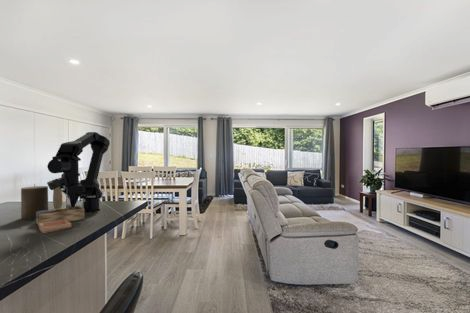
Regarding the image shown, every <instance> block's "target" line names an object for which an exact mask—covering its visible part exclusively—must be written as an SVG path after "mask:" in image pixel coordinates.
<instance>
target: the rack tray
mask: <svg viewBox="0 0 470 313" xmlns="http://www.w3.org/2000/svg"><path fill="white" fill-rule="evenodd" d="M68 229H72V223H71V221H68V220H66V219H63V220H57V221H51V222H45V223H39V225H38V230H39V231H40V232H41V233H42V234H46V233H52V232H58V231H62V230H63V231H64V230H68Z"/></svg>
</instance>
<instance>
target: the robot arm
mask: <svg viewBox="0 0 470 313" xmlns="http://www.w3.org/2000/svg"><path fill="white" fill-rule="evenodd" d="M110 143H111V142H110V140H109V138H108V137H106V136H104V135H101V134H100V133H98V132H96V131H89V132H86V133H85V134H83V135H82V136H80V137H78V138H77V139H74V140H72V141H66V142H63V143H61V144H60V145H59V148H58V150H57V152H56V154H55V156H52V159H50V160H49V161H48V162H47V169H48V171H49V173H51V174H61V175H60V176H61V177H58V178H54V179H52V180H48V181H47V182H46V184H47V186H48V189H49V190H51V191H53V190H54V189H56V188H58V187H59V189H62V190H61V191H62V194H65V196H66V194H67V195H68V196H69V199H70V204H71V207H75V204H76V202H77V203H78V200H83V201H82V203H81V204H82V206H81V207H82V208H84V213H90V212H95V211H101V208H100V199H101V198H102V197H103V191H102V190H101V189H100V184H99V182H98V177H99V173H100V169H101V165H102V161H103V156H104V154H105V153H106V152H108V150H109V148H110V145H111V144H110ZM88 145H90V148H91V150H92V152H91V154H92V155H91V158H90V162H89V164H88V170H87V173H86V177H85V178H84V179H80V178H79V177H80V175H81V173H80V172H79V170H80V169H79V162H80V161H81V160H82V159H81V158H80V157H79V156H80V154H82V153H83V151H84V148H86V147H87V146H88ZM79 179H80V181H79Z"/></svg>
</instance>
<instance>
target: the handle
mask: <svg viewBox="0 0 470 313" xmlns="http://www.w3.org/2000/svg"><path fill="white" fill-rule="evenodd" d="M61 190H63V188H62V189H59V187H58V188H56V189H54V190H52V191H53V193H52V206H53V209H60V208H63V192H62V191H61Z"/></svg>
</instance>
